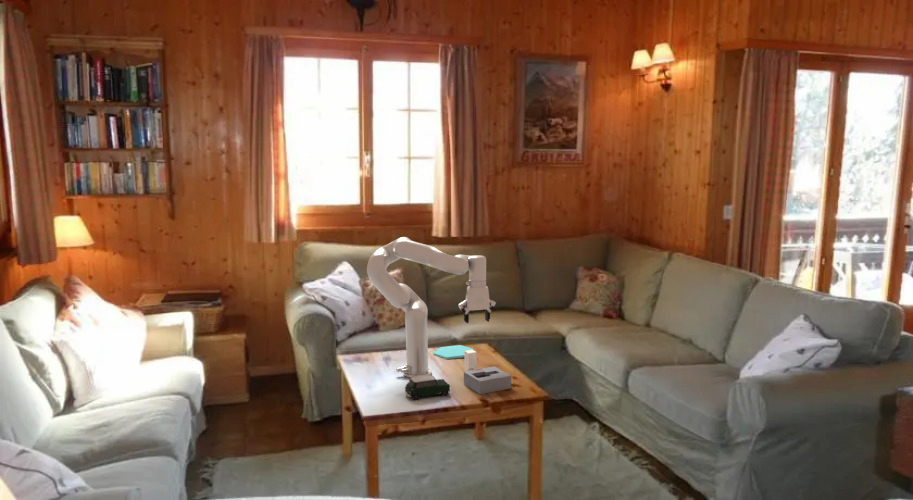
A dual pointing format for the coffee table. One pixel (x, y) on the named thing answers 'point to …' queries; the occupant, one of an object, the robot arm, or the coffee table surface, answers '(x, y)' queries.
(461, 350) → the plaque
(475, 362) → the keyhole peg
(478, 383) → the keyhole board
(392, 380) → the coffee table surface
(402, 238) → the robot arm
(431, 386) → the miniature car
